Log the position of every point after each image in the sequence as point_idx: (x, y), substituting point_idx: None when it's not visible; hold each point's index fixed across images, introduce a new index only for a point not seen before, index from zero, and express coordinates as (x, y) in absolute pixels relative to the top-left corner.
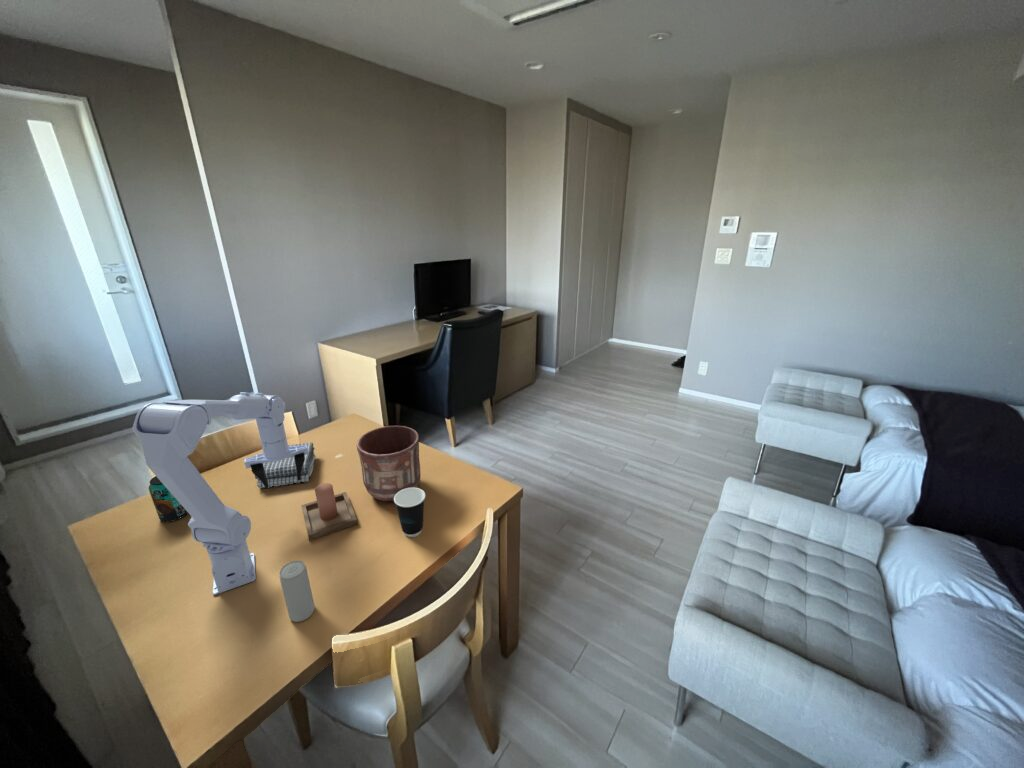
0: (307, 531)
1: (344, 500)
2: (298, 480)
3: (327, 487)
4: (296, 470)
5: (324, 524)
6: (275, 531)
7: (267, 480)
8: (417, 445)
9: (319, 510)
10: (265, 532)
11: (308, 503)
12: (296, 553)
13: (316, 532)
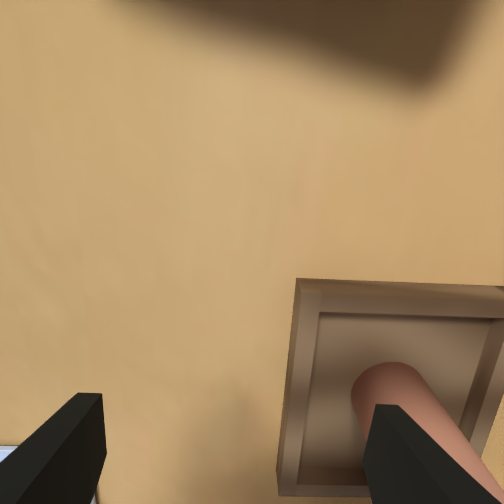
0: (282, 478)
1: (489, 327)
2: (366, 460)
3: None
4: (417, 497)
5: (350, 435)
6: (166, 361)
7: (82, 420)
8: None
9: (366, 439)
10: (126, 346)
11: (337, 298)
12: (226, 500)
13: (310, 495)
